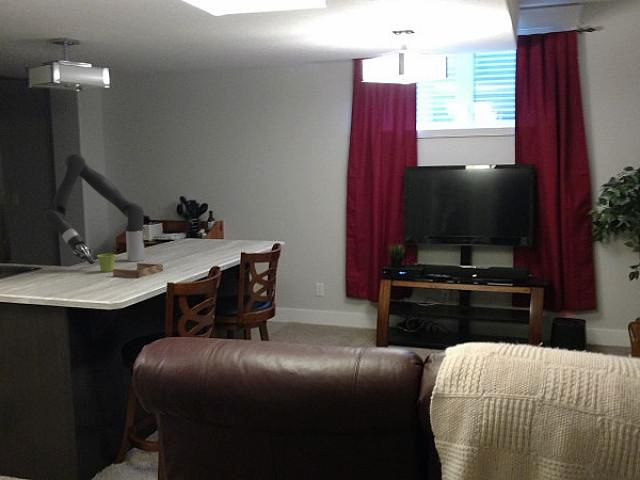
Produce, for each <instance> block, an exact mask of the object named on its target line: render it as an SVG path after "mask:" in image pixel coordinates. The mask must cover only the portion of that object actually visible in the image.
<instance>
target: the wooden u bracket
mask: <svg viewBox="0 0 640 480" xmlns="http://www.w3.org/2000/svg"><path fill="white" fill-rule="evenodd" d="M163 268H164V266H163V264H159V263H143V262H141V263H140V262H138V263H136V270H135V269H122V268H121V269H120V268H114V269H113V271H112V275H113V277H121V278H134V279H140V278H144V277H147V275H148V276H151V275H155V274H158V273H161V271H162V272H163V270H164V269H163ZM157 272H158V273H157ZM154 273H155V274H154ZM150 274H151V275H150ZM143 276H144V277H143Z"/></svg>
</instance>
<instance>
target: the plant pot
mask: <svg viewBox="0 0 640 480" xmlns="http://www.w3.org/2000/svg"><path fill="white" fill-rule="evenodd" d="M116 256H117V254H115V253H102V254H98V255H96V257H97V259H98V261H99V266H100V271H101V273H103V272H104V273H111V272H113V269H115V260H116Z"/></svg>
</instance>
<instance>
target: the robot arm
mask: <svg viewBox="0 0 640 480" xmlns="http://www.w3.org/2000/svg"><path fill="white" fill-rule="evenodd" d="M64 165H65V166H66V172H65V175H64V177H63V178H62V179H63V180H62V181H61V183H60V184H59V186H58V188H57V190H56V193H55V196H54V198H53V201H52V203H53V205H54V209H49V210H47V211H46V212H45V214H44V216H45V217H44V218H45V221H47V223H48V224H49V225H50V226H51V227H53V228H54V229H55V230H56V231H57V233H59V235H60V236H61V237H62V238H63V240H64V242H65V243H66V244H67V245H68V247H69V248H70V249H71V250H73V253H72V254H73V255H74V256H76V257H77V258H79V259H82V260H86V261H87V262H88V263H89V265H93V264H94V263H95V260H94V258H93V257H92V256H93V255H94V253H93V252H94V251H93V248H92V247H91V246H90V247H88V246H87V245H86V244H85V240H84V239H83V237H82V236H81V235H80V234H79V233H78V232H77V230H75V229H74V228H73V226H72V225H71V224H70V223H69V222H67V221H65V218H66V213H67V205H68V203H69V200H70V197H71V195H72V192H73V190H74V187H75V184H76V182H77V180H78V178H79V177H80V178H82V179H83V180H84V181H85V182H86V183H87V184H88V185H89V186H90V187H91V188H92V189H93V190H94V191H96V193H98V194H99V196H101V197H102V198H104V199H106V200H107V201H108V202H109V203H111V204H112V205H113V206H114V207H116V208H117V209H118V210H119V211H120V213H122V214H123V215H124V217H126V218H127V225H126V226H125V236H126V237H125V238H126V260H127V262H140V261H144V260H146V259H145V243H144V234H143V233H144V232H143V230H144V229H143V227H144V219H145V217H144V208H143V207H142V205H140V204H139V203H134V202H132V201H130V200H129V199H127V198H126V197H125V196H124V194H122V193H121V192H120V190H119V189H118V188H117V186H116V185H115V184H114V183H113V182H112V181H111V180H109V179H108V178H107V177H106V176H104V175H103V174H101V173H100V172H99V171H96V170H94V169H93V168H92V167H90V166H89V164H87V163H86V159H85V157H84V156H83V155H81V154H79V153H69V154H67V155H66V156H65V157H64Z"/></svg>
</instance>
